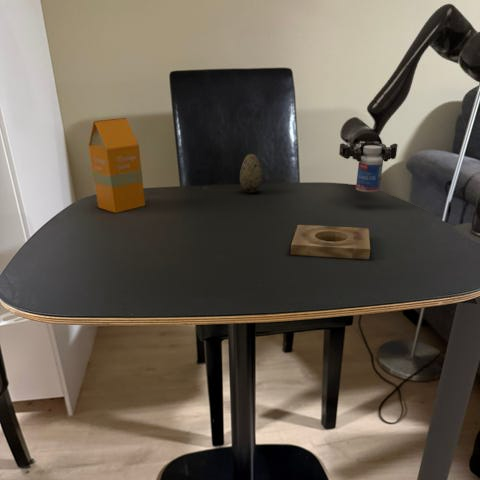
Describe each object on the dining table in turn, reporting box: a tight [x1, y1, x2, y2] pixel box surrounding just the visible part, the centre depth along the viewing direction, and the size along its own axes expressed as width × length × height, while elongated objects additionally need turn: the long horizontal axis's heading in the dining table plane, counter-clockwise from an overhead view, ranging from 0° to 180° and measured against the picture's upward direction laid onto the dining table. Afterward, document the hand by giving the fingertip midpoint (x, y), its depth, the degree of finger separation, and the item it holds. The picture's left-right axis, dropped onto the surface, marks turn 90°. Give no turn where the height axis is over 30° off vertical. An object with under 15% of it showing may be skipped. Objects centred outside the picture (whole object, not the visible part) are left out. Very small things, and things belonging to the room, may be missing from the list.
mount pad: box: [290, 224, 371, 260], centre depth 91 cm, size 14×12×2 cm
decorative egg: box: [239, 153, 263, 194], centre depth 127 cm, size 6×6×10 cm
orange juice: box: [88, 117, 146, 214], centre depth 114 cm, size 8×9×20 cm
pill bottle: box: [355, 145, 384, 193], centre depth 111 cm, size 6×5×10 cm
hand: (372, 156), depth 107 cm, fingers closed on pill bottle, 5 cm apart
